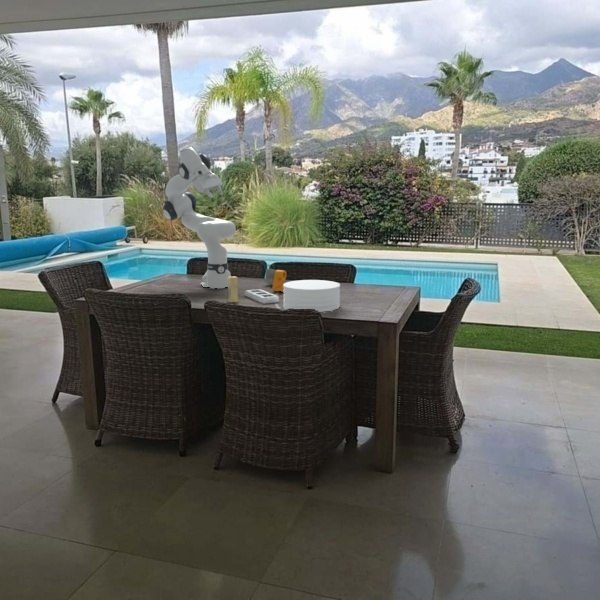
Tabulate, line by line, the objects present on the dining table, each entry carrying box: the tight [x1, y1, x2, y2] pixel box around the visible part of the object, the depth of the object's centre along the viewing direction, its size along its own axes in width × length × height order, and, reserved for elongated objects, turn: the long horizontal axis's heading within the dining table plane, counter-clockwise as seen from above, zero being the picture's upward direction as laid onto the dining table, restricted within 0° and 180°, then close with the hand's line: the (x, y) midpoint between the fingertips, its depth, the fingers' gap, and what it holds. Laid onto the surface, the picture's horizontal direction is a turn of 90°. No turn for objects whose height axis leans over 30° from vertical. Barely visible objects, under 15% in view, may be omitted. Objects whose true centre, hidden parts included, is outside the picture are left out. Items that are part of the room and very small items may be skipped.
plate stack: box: [282, 279, 341, 311], centre depth 288 cm, size 28×28×12 cm
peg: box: [227, 275, 239, 304], centre depth 300 cm, size 4×4×13 cm
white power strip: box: [244, 288, 280, 305], centre depth 308 cm, size 24×9×3 cm, turn 27°
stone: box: [264, 268, 286, 286], centre depth 348 cm, size 15×5×10 cm, turn 47°
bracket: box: [271, 269, 287, 293], centre depth 330 cm, size 11×7×12 cm, turn 152°
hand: (216, 195), depth 311 cm, fingers open, 8 cm apart
